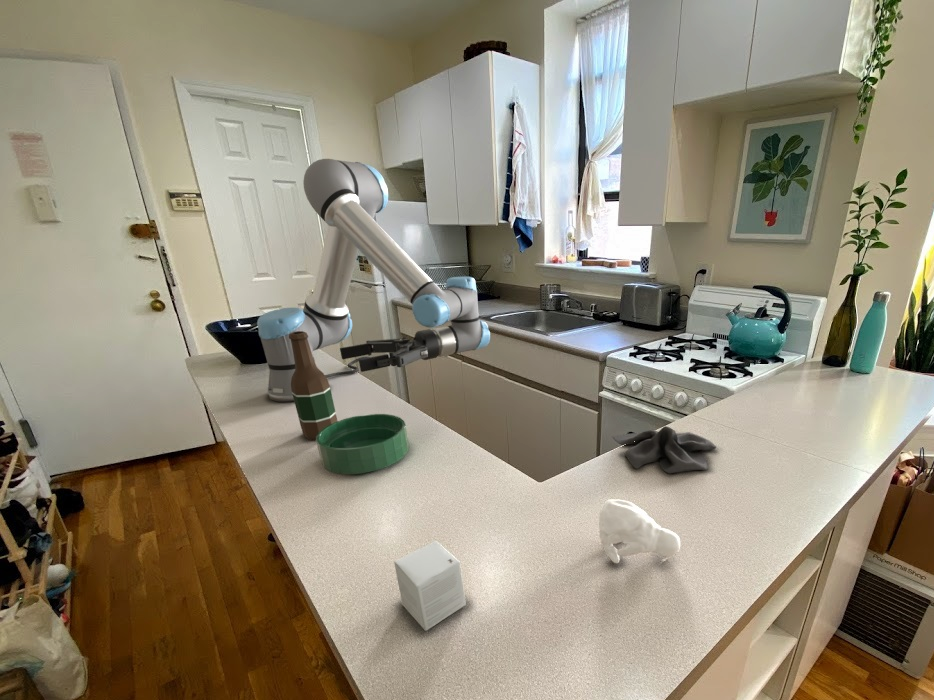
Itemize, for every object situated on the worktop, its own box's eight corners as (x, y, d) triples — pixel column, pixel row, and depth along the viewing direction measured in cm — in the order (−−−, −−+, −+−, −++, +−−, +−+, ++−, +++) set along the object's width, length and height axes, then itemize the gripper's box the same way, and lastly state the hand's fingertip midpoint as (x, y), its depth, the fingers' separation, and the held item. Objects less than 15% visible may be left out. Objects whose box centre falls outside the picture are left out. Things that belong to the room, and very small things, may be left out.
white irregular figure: (604, 487, 69) (686, 503, 67) (598, 533, 72) (675, 549, 70) (598, 512, 63) (688, 530, 61) (591, 560, 67) (676, 578, 65)
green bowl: (348, 436, 107) (343, 413, 104) (420, 438, 105) (417, 414, 103) (305, 475, 91) (297, 448, 89) (389, 478, 90) (384, 450, 87)
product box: (442, 581, 64) (436, 538, 61) (467, 605, 60) (461, 561, 57) (401, 605, 60) (392, 560, 57) (424, 633, 56) (416, 586, 53)
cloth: (717, 439, 102) (720, 414, 100) (713, 481, 86) (718, 452, 84) (618, 426, 109) (619, 402, 107) (598, 463, 93) (598, 436, 91)
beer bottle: (304, 429, 111) (279, 330, 101) (340, 424, 113) (318, 327, 104) (301, 443, 104) (274, 338, 95) (339, 437, 107) (316, 334, 97)
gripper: (459, 367, 113) (372, 388, 100) (415, 348, 130) (337, 363, 118) (455, 337, 110) (365, 354, 97) (411, 321, 128) (331, 334, 115)
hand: (350, 359), depth 108 cm, fingers open, 13 cm apart
